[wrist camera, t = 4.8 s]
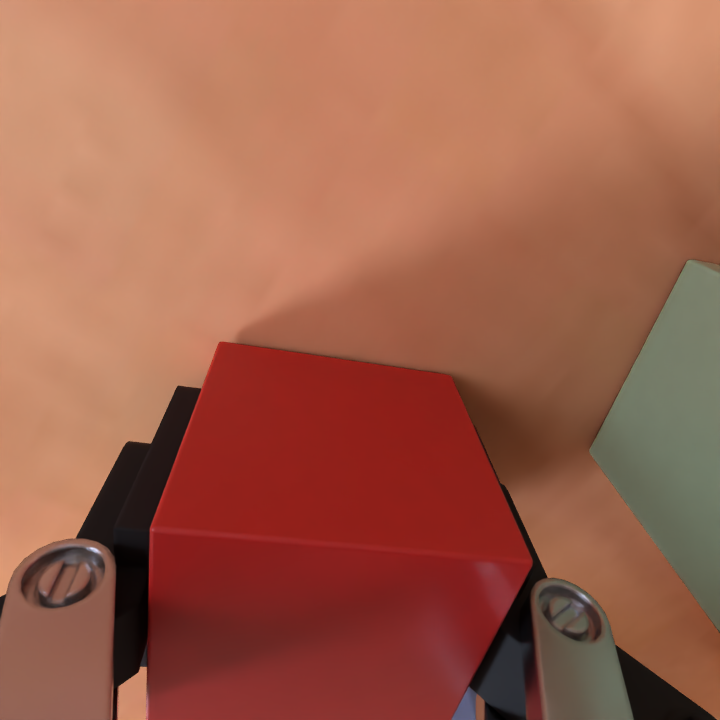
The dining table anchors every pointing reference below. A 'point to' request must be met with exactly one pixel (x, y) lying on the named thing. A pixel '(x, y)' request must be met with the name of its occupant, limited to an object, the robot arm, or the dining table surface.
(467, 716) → the blue block
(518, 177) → the dining table surface
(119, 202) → the dining table surface
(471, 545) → the red block
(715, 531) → the sage block
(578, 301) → the dining table surface
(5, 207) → the dining table surface
